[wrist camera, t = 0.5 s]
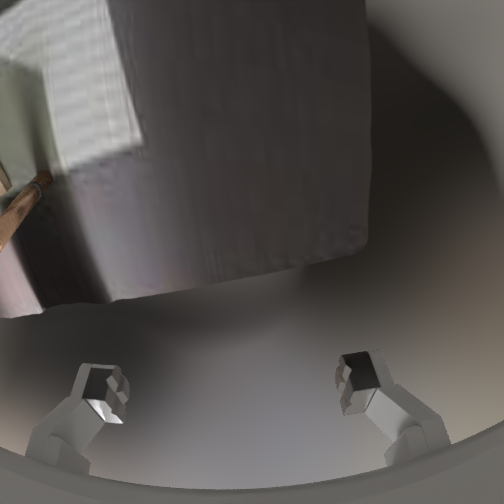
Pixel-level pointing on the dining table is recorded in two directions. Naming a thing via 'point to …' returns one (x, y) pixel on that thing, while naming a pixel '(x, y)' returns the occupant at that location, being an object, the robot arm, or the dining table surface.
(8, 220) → the copper tube
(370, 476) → the robot arm
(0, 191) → the collar stand
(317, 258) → the dining table surface
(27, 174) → the dining table surface
